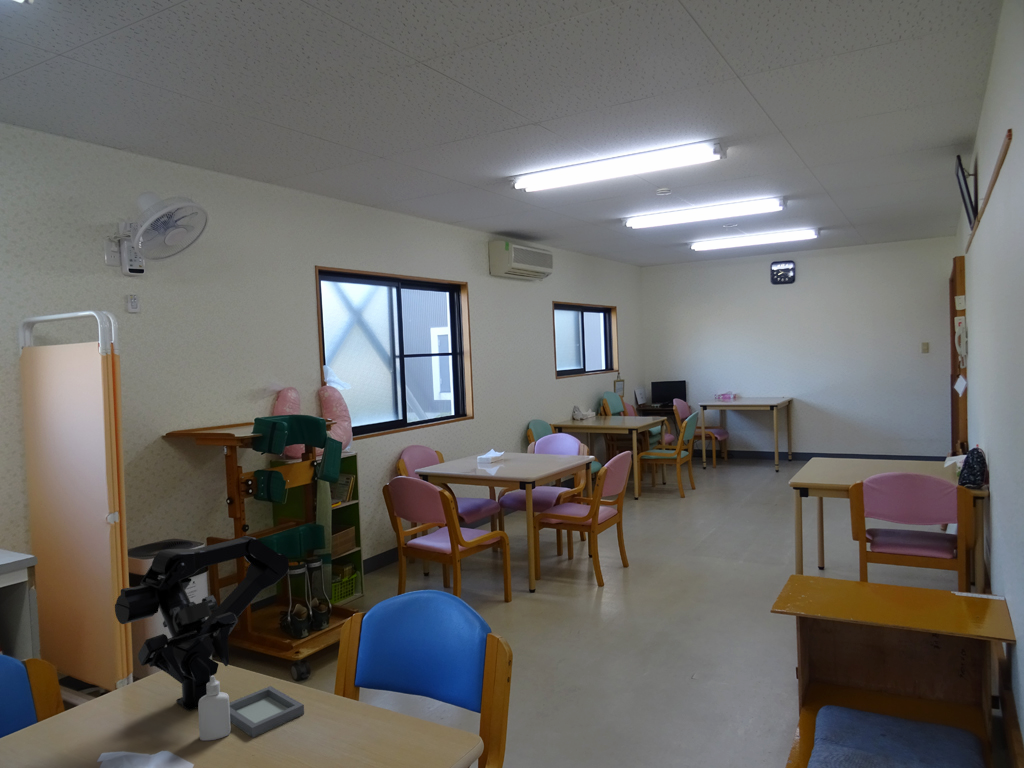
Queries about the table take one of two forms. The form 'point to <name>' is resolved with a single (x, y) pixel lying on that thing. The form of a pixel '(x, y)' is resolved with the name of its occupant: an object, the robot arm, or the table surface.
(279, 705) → the gray rectangular tray
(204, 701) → the eye dropper bottle
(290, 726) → the table surface
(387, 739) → the table surface
